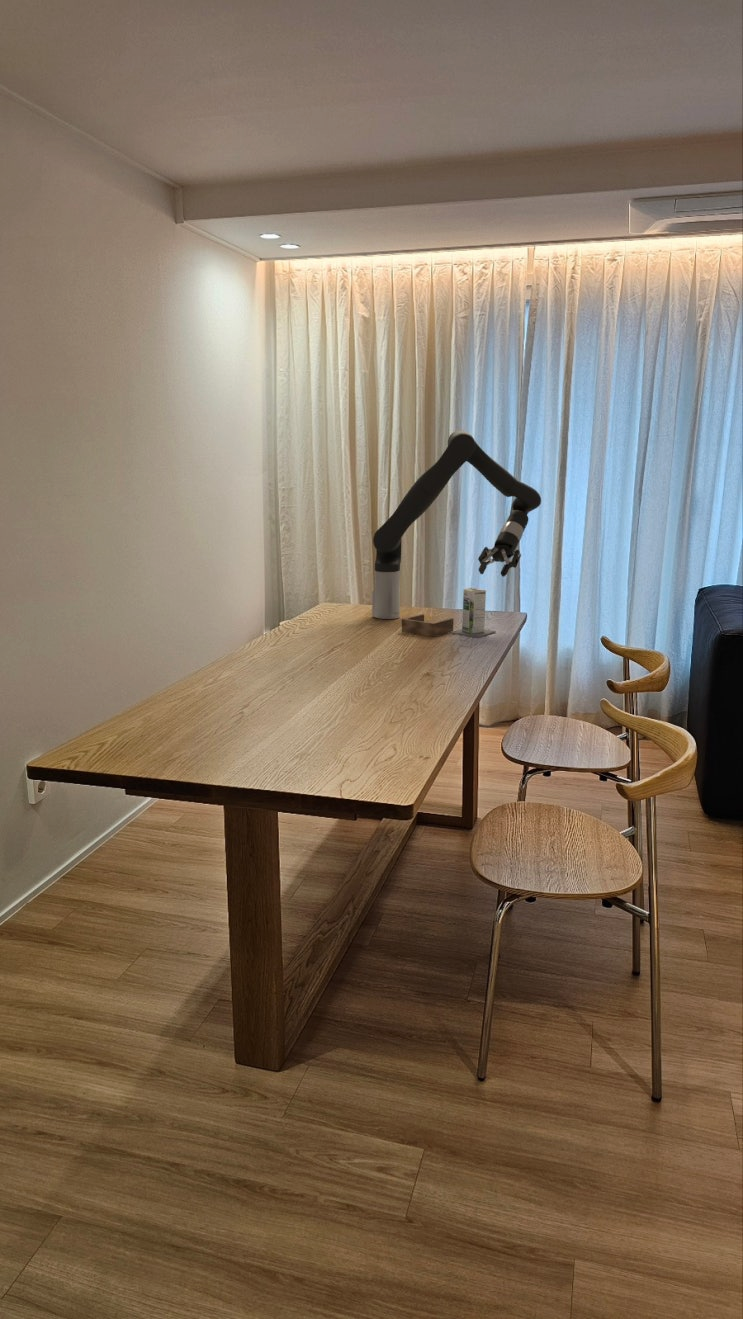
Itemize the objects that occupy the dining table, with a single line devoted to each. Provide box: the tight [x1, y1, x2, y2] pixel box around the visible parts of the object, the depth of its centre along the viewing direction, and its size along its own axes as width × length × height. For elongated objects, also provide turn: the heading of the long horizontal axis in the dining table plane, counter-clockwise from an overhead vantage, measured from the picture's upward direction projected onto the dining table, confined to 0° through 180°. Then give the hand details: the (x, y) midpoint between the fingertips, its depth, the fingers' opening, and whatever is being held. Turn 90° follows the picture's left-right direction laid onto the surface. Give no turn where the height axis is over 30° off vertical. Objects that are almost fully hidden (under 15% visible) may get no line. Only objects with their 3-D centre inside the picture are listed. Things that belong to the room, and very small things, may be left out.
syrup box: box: [461, 587, 487, 634], centre depth 311 cm, size 6×6×14 cm
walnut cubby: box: [401, 613, 454, 638], centre depth 314 cm, size 13×12×4 cm
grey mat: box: [450, 628, 497, 639], centre depth 312 cm, size 11×11×1 cm
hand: (491, 573), depth 316 cm, fingers open, 8 cm apart
